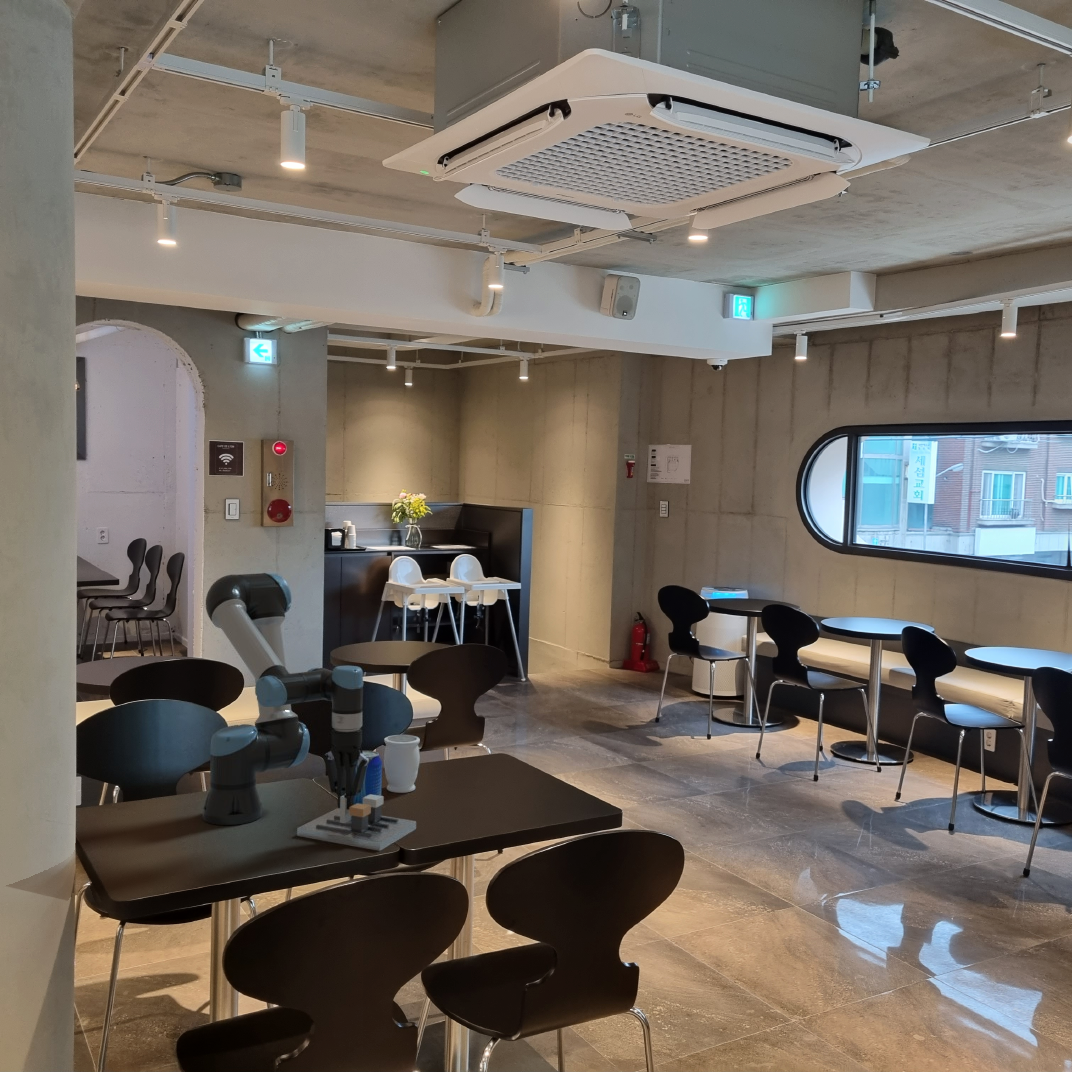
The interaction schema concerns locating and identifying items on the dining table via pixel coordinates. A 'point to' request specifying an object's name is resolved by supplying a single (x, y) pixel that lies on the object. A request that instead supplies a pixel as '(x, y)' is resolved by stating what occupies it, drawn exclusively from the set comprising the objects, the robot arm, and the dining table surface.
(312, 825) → the console
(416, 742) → the jar
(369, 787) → the beer can
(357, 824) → the fader
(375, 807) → the fader
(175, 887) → the dining table surface
